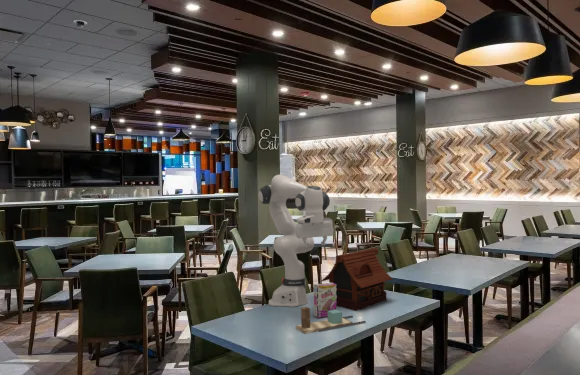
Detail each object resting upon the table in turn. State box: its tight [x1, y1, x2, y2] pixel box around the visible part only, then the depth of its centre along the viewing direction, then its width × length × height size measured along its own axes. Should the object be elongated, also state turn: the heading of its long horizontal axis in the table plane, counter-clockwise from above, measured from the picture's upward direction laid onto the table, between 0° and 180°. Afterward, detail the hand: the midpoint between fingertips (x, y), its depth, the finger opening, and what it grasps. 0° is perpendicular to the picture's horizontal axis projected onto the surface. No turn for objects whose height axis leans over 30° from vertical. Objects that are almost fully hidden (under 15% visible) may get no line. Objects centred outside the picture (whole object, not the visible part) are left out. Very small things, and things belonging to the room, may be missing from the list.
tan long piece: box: [295, 306, 353, 335], centre depth 215 cm, size 26×9×10 cm, turn 117°
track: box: [312, 315, 367, 333], centre depth 218 cm, size 26×11×1 cm, turn 117°
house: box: [321, 247, 393, 312], centre depth 257 cm, size 35×28×29 cm
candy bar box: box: [313, 282, 338, 319], centre depth 232 cm, size 11×5×16 cm, turn 111°
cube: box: [327, 309, 343, 324], centre depth 218 cm, size 5×5×5 cm
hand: (315, 246), depth 227 cm, fingers open, 8 cm apart
